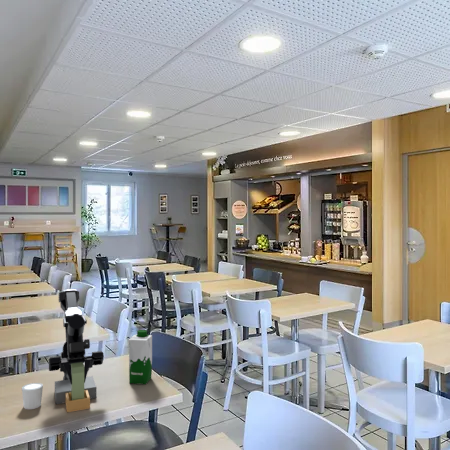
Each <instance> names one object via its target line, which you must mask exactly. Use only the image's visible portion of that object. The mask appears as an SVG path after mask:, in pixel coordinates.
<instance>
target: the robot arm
mask: <svg viewBox="0 0 450 450" xmlns="http://www.w3.org/2000/svg"><path fill="white" fill-rule="evenodd" d="M79 302H80V291H78V290H77V289H75V288H74V289H64V290H63V291H61V292H58V303H59V304H60V305H59V306H60V309H61V310H62V311H63V312H64V317H63V318H62V319H63V320H62V323H63V326H62V327H63V328H64V330H65V342H64V344H63V346H62V352H60V355H57V356H56V355H55V356H50V357H49V358H48V371H49V372H55V371H59V372H63V376H62V380H69V382H70V384H72V377H71V364H72V363H80V362H83V364H84V383H85V380H86V377H88V376H87V375H88V373H89V370H90V369H91V368H93V366H99V365H103V364H104V358H105V356H104V351H102V350H99V351H91V355H88V356H86V350H88V349H90V347H91V343H90V342H91V341H90V338H88V339H84V335H83V333H84V332H85V326H86V324H87V319H86V317H85V316H84V315H83V311H82V310H80V309H79V308H78V303H79Z"/></svg>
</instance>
